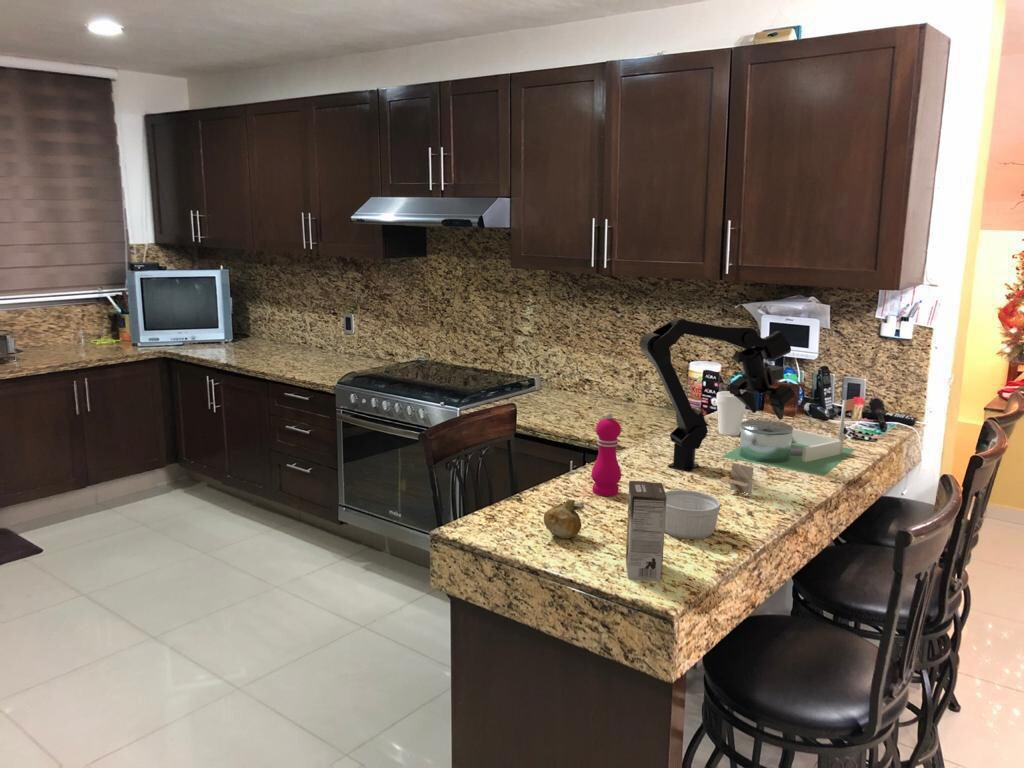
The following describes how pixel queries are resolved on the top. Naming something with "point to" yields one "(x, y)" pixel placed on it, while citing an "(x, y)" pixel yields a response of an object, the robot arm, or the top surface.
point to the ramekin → (690, 514)
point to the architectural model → (740, 478)
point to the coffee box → (645, 530)
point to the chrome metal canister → (765, 441)
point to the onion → (564, 519)
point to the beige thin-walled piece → (820, 440)
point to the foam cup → (729, 413)
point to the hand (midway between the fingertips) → (767, 415)
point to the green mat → (800, 461)
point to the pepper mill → (606, 458)
